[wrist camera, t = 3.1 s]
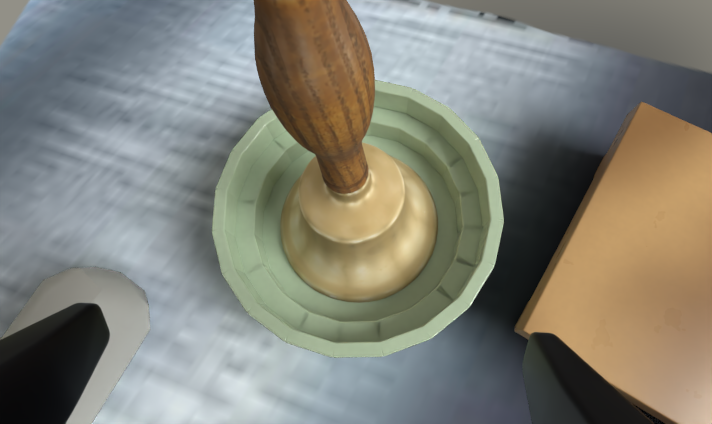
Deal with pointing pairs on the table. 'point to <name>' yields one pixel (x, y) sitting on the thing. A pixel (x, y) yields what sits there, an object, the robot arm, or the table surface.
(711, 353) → the footstool
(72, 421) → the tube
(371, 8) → the table surface
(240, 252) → the bowl
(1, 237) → the table surface
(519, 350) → the table surface
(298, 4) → the hand bell
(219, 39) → the table surface
